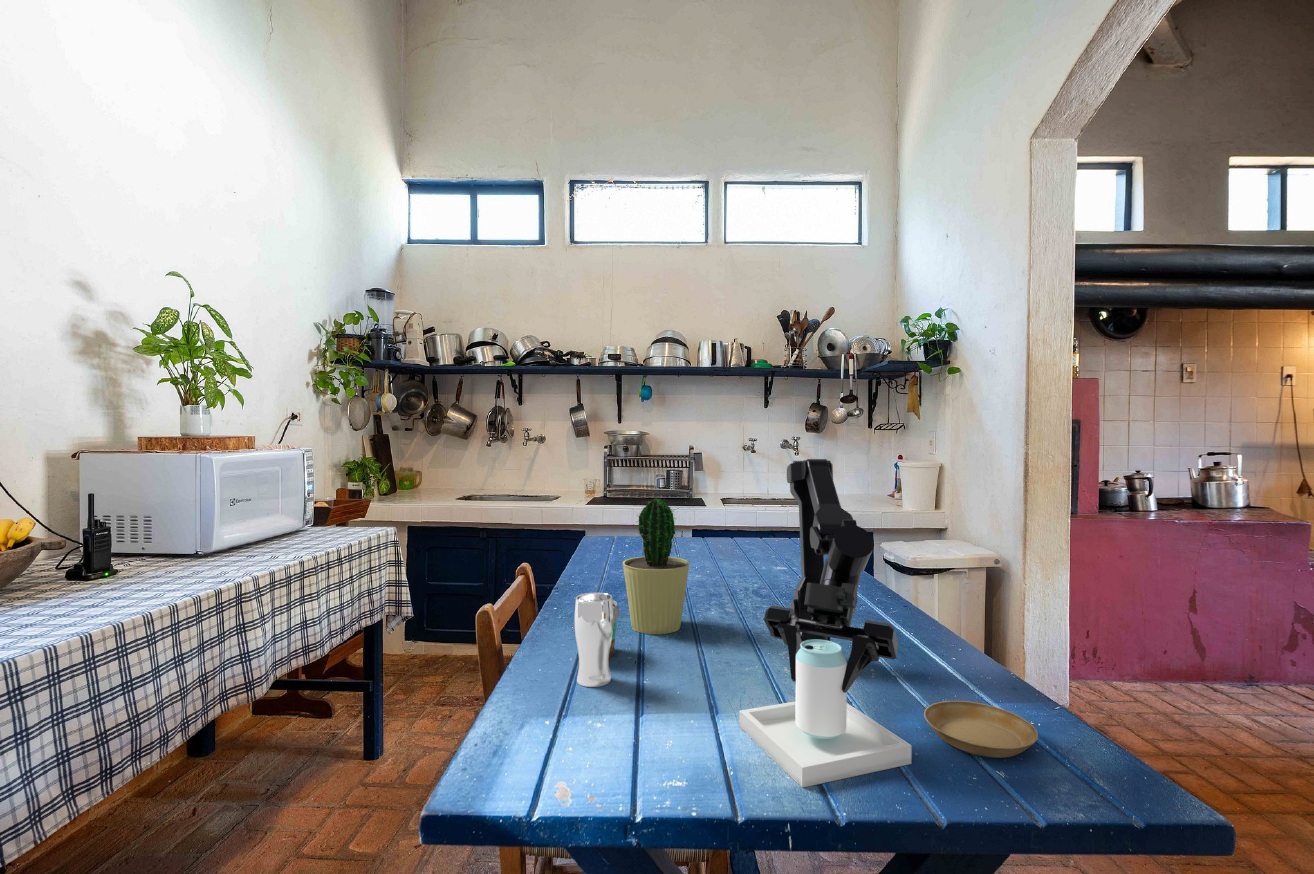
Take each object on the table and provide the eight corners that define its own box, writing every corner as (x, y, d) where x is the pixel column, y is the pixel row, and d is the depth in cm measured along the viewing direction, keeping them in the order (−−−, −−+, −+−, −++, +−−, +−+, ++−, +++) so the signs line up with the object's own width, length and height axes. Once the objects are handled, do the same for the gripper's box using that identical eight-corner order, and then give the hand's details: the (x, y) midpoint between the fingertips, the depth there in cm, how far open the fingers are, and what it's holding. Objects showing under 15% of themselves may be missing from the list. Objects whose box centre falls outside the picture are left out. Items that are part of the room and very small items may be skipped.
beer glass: (620, 676, 112) (620, 594, 112) (600, 691, 106) (601, 604, 106) (587, 670, 115) (587, 590, 115) (566, 684, 109) (566, 599, 109)
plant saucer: (1026, 779, 80) (1026, 759, 80) (909, 742, 89) (909, 724, 89) (1046, 737, 91) (1046, 719, 91) (940, 708, 101) (941, 692, 101)
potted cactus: (655, 612, 153) (655, 492, 153) (703, 626, 142) (703, 496, 142) (608, 626, 142) (608, 496, 142) (656, 642, 131) (656, 501, 131)
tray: (834, 710, 99) (834, 694, 99) (911, 763, 83) (911, 745, 83) (739, 727, 93) (739, 710, 93) (802, 787, 77) (802, 767, 77)
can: (817, 746, 84) (818, 657, 83) (785, 723, 90) (785, 641, 90) (857, 734, 87) (857, 649, 86) (823, 713, 93) (823, 634, 93)
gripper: (768, 553, 96) (740, 645, 87) (895, 567, 87) (879, 672, 77) (784, 592, 103) (760, 681, 94) (903, 609, 94) (890, 710, 84)
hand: (817, 685), depth 87 cm, fingers closed on can, 7 cm apart
